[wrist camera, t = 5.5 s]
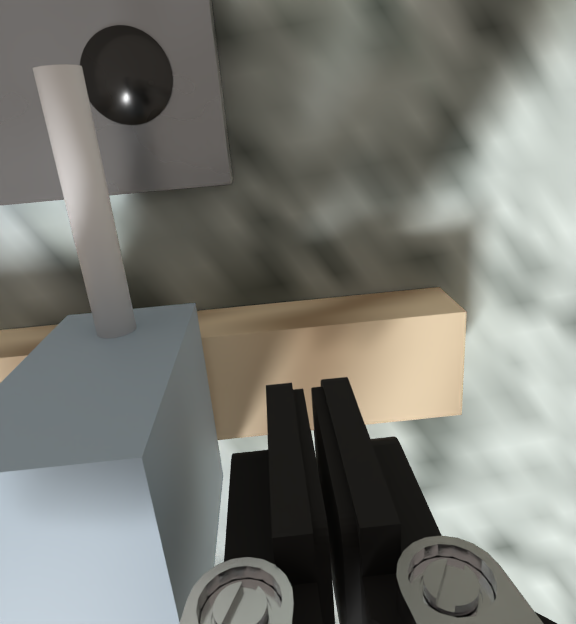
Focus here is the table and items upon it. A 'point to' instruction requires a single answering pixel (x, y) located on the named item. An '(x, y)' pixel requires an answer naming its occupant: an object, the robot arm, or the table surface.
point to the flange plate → (115, 93)
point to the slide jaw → (104, 427)
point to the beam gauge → (321, 355)
